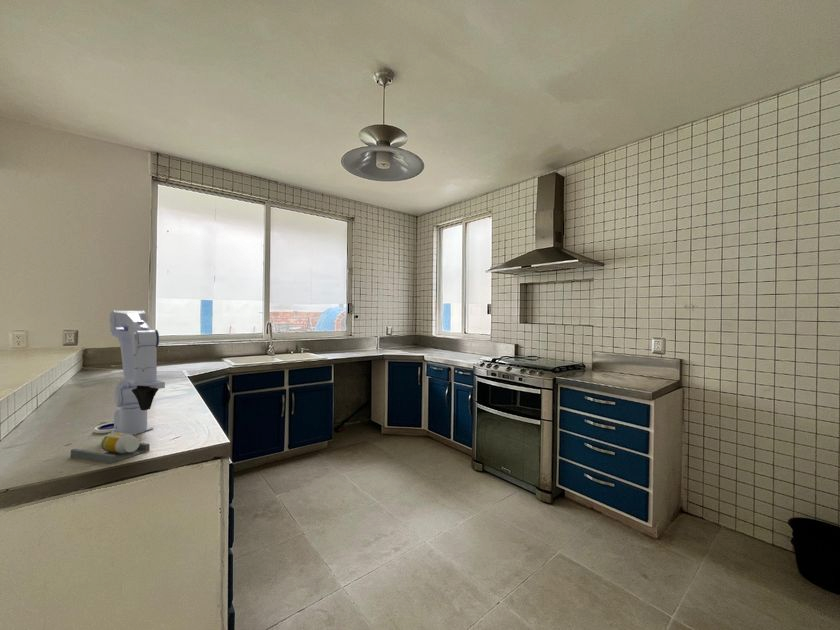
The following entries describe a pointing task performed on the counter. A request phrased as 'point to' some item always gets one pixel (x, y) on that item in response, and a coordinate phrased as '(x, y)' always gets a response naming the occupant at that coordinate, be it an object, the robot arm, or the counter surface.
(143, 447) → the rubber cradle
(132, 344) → the robot arm
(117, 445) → the supplement bottle
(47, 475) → the counter surface
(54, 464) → the counter surface
